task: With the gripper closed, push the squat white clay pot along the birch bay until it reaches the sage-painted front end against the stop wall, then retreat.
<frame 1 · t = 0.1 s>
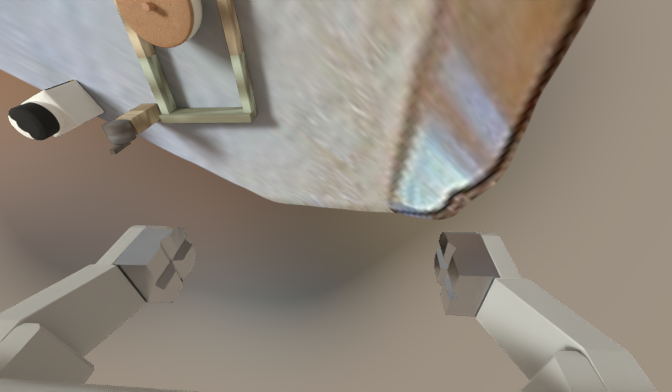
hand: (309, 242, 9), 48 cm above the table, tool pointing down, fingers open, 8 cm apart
medicine bottle: (80, 101, 59), on the table
lidded jar: (180, 2, 47), on the table
winch post: (152, 110, 58), on the table
bay: (194, 49, 51), on the table
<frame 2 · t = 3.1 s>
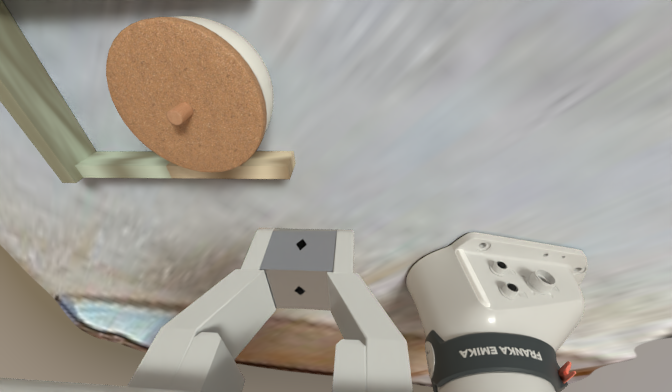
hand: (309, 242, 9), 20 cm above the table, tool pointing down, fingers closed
lidded jar: (229, 77, 26), on the table
bay: (155, 79, 26), on the table
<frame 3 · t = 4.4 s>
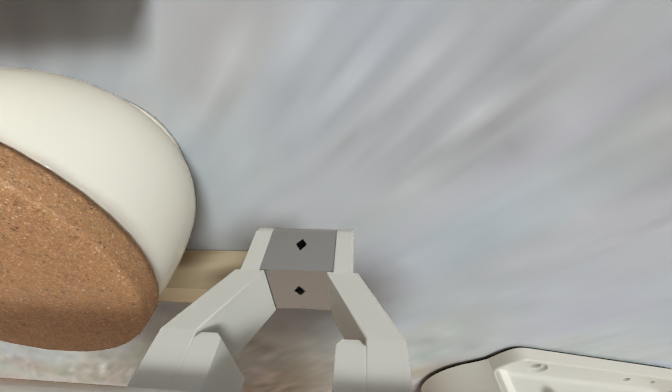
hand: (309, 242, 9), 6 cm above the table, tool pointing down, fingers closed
lidded jar: (129, 150, 15), on the table
bay: (5, 153, 15), on the table
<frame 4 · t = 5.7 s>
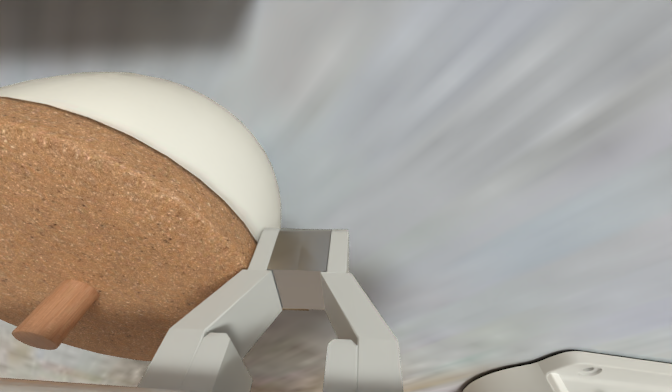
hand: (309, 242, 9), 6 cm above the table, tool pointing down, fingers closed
lidded jar: (201, 154, 15), on the table, touching gripper
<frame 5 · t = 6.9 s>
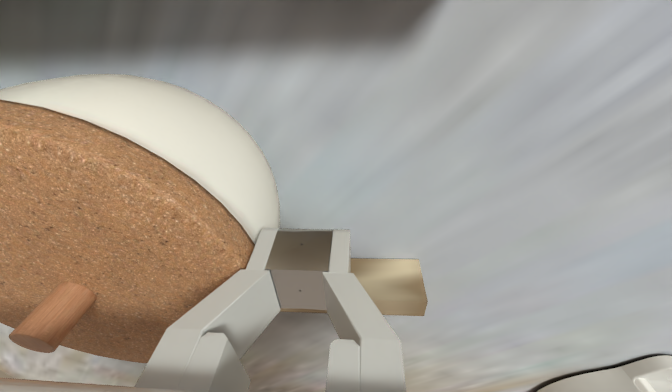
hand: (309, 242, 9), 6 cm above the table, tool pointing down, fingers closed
lidded jar: (200, 156, 15), on the table, touching gripper
bay: (199, 160, 15), on the table
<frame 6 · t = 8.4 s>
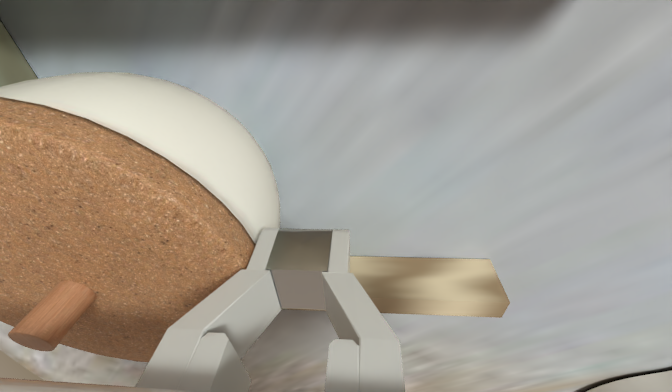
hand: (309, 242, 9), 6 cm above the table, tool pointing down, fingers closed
lidded jar: (200, 155, 15), on the table, touching gripper
bay: (283, 154, 14), on the table
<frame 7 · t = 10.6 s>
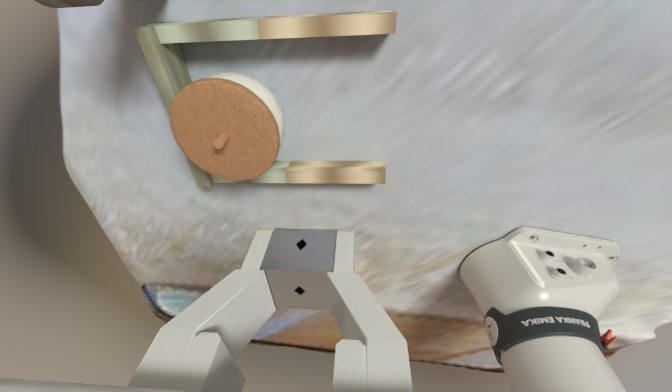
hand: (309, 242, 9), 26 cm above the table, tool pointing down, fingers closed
lidded jar: (250, 107, 34), on the table
bay: (285, 106, 34), on the table
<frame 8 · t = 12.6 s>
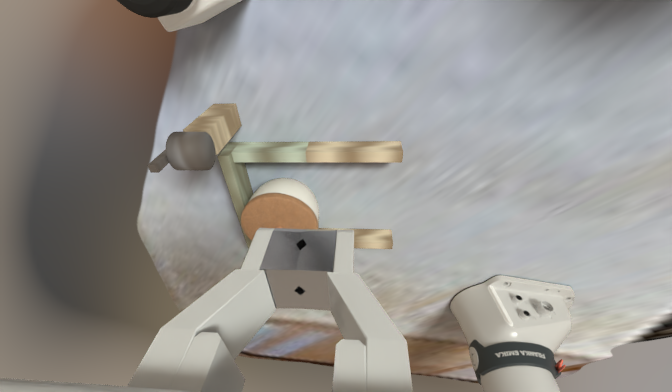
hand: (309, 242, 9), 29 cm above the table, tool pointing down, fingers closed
lidded jar: (290, 193, 45), on the table
winch post: (227, 114, 38), on the table
bay: (317, 193, 45), on the table
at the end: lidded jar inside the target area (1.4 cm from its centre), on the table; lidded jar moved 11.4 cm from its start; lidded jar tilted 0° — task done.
